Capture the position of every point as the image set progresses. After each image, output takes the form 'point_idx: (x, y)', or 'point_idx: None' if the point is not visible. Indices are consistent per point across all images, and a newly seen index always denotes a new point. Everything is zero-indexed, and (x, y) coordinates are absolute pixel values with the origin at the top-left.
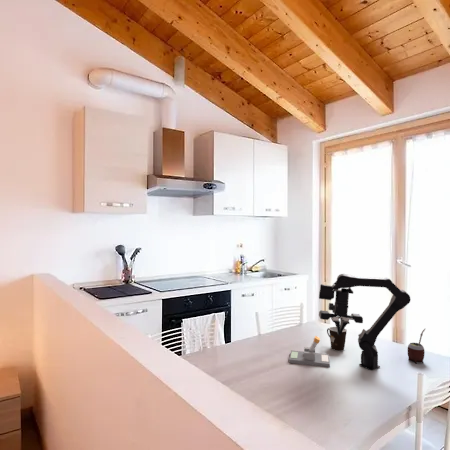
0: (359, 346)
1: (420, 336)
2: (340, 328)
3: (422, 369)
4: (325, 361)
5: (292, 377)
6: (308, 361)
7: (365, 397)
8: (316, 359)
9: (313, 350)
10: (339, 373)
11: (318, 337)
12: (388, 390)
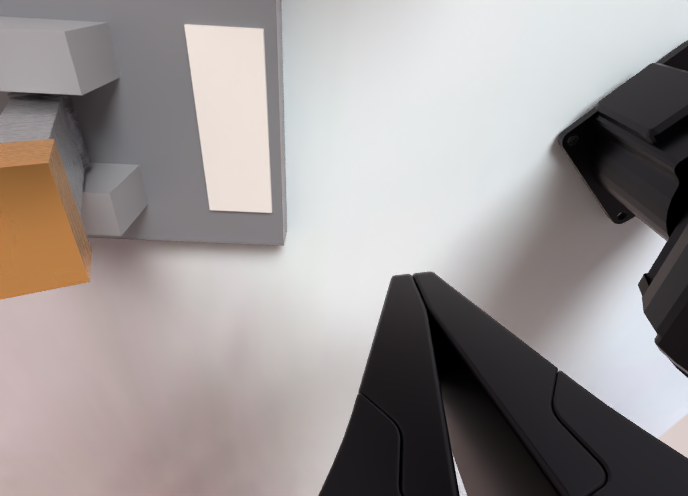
0: (646, 310)
1: None
2: (468, 459)
3: None
4: (244, 211)
5: (80, 398)
6: (100, 235)
7: None
8: (157, 174)
9: (79, 190)
10: (350, 308)
11: (17, 172)
12: None
